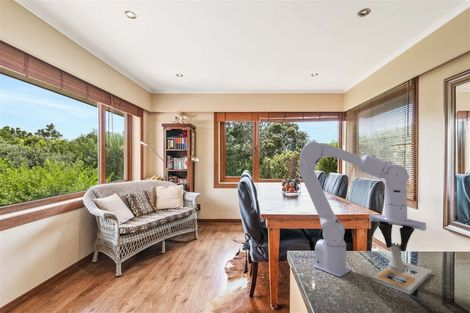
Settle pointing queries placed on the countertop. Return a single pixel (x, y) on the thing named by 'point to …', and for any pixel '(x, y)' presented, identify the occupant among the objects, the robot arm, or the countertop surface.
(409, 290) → the rail plate
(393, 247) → the rook chess piece
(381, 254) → the countertop surface
